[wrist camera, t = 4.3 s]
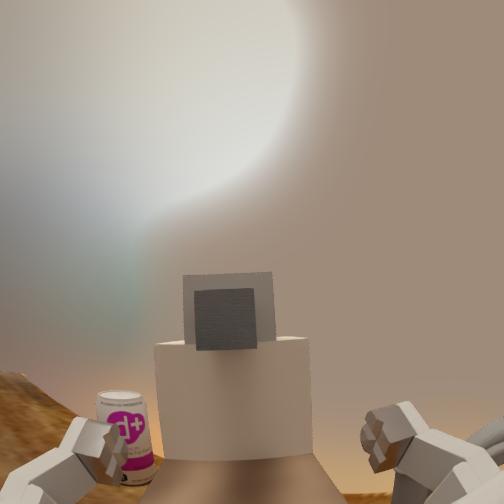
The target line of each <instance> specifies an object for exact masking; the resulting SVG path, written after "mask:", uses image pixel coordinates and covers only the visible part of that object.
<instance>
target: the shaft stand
mask: <svg viewBox="0 0 504 504" xmlns="http://www.w3.org/2000/svg"><path fill="white" fill-rule="evenodd" d="M233 289H254V298H255V316H256V333H257V349H241V350H213V351H196V338H195V313H194V291H206V290H233ZM183 306H184V308H183V310H184V336H185V337H184V338H185V341H174V342H166V343H159V344H154V359H155V375H156V388H157V399H158V410H159V419H160V427H161V434H162V443H163V450H164V456H165V459H174V460H194V461H235V460H255V459H268V458H278V457H287V456H295V455H302V454H309V453H312V452H313V451H312V450H313V449H312V403H311V379H310V378H311V377H310V358H309V340H308V338H299V337H287V336H286V337H276V324H275V309H274V293H273V279H272V272H257V273H234V274H212V275H211V274H209V275H184V276H183Z"/></svg>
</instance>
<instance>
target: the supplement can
mask: <svg viewBox="0 0 504 504" xmlns="http://www.w3.org/2000/svg"><path fill="white" fill-rule="evenodd" d="M95 405H96V413H97V420H98V421H102V422H107V423H112V424H117V425H118V427H119V429H120V434H119V435H120V436H121V437H122V438H124V439H125V441H126V443H127V448H128V457H127V461H126V463H125V464H124V465H123V466H121V469H122V471H123V476H122V479H121V483H122V484H126V485H141V484H145V483H147V482H149V481H151V480H152V479H153V478H154V476H155V475H156V469H155V463H154V457H153V452H152V444H151V437H150V430H149V422H148V415H147V405H146V402H145V401H144V399H143V397H142V395H141V394H140V393H138V392H134V391H124V390H112V391H103V392H100V393H99V394H98V398H97V400H96V403H95Z"/></svg>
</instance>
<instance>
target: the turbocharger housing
mask: <svg viewBox="0 0 504 504" xmlns="http://www.w3.org/2000/svg"><path fill="white" fill-rule="evenodd" d="M465 441H466V442H468V443H471V444H474V445H476V446H479V447H482V448H484V449H485V450H486V452H487V453H488V454H489V455H490V457H491V458H492V459H493V461H494V462H495V463H496V465H497V466H500V465H502V464H504V416H503V417H501V418H498V419H496V420H494V421H492V422H490V423H489V424H487V425H486V426H484V427H482V428H481V429H479V430H478V431H476V432H475V433H474V434H473V435H471V436H470V437H469V438H468V439H467V440H465ZM394 471H395V472H396V473H395V481H394V489H393V495H392V501H391V504H424V502H425V500H426V499H427V498H428V497H429V496H430V495H431V494H432V493H433V491H431V490H430V489H428V488H427V487H425V486H423V485H422V484H420V483H418V482H417V481H415V480H414V479H412V478H411V477H409V476H407V475H406V474H404V473H403V472H401V471H400V470H398V469H397V467H395V468H394Z"/></svg>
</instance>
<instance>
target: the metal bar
mask: <svg viewBox="0 0 504 504" xmlns="http://www.w3.org/2000/svg"><path fill="white" fill-rule="evenodd" d="M194 313H195V338H196V351H213V350H241V349H257V333H256V316H255V298H254V289H233V290H206V291H194Z"/></svg>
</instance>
